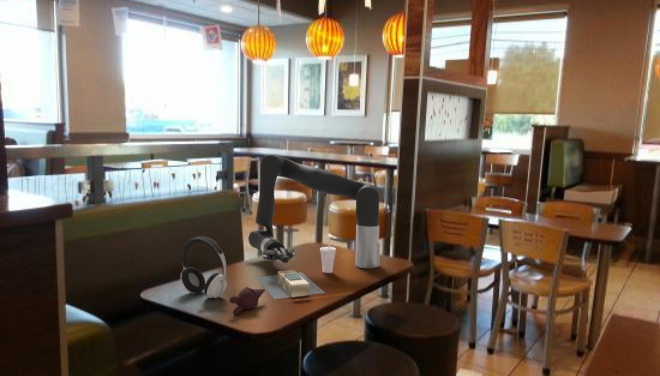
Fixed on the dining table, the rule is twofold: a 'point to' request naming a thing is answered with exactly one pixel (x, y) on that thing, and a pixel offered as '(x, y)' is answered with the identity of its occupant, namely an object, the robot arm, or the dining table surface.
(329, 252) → the smoothie
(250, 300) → the maroon rounded piece
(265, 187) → the robot arm
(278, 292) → the mat
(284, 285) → the birch block
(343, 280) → the dining table surface
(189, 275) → the headphones
